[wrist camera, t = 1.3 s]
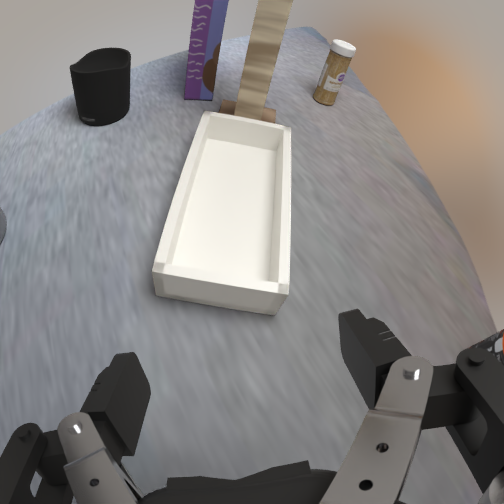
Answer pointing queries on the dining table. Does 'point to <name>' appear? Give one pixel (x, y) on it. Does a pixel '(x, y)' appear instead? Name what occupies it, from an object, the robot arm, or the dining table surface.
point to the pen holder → (102, 85)
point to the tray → (230, 218)
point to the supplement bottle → (493, 345)
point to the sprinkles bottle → (334, 72)
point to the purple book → (204, 48)
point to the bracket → (260, 62)
